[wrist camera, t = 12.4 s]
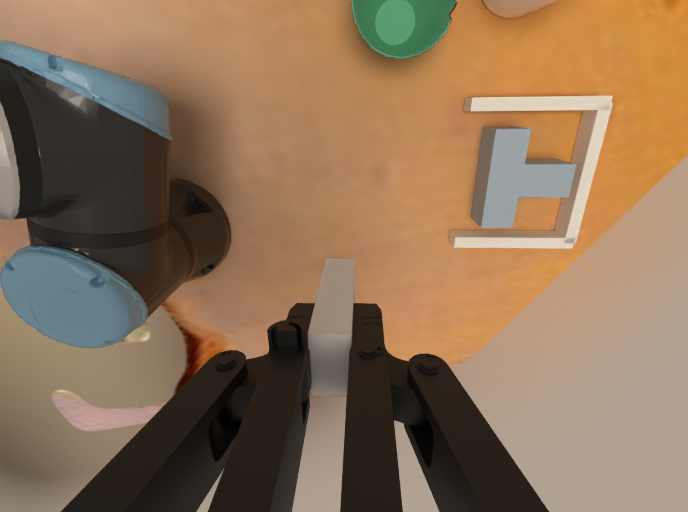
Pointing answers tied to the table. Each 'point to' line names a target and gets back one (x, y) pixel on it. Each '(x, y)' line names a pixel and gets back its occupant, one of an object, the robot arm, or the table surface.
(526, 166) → the t block
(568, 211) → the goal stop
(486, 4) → the candle holder
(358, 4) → the mug
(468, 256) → the table surface
